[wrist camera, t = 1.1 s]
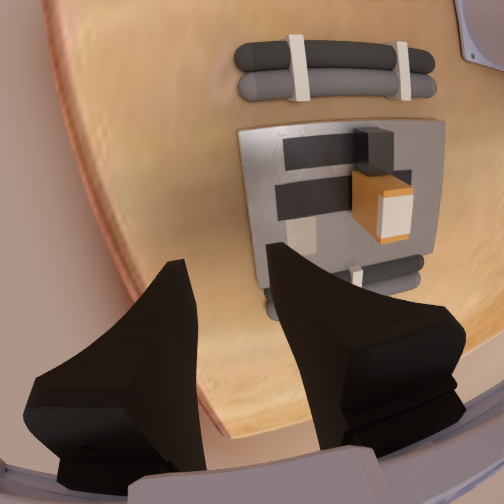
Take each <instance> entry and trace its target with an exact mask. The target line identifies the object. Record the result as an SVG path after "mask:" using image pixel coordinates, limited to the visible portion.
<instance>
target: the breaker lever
mask: <svg viewBox="0 0 504 504" xmlns="http://www.w3.org/2000/svg"><path fill="white" fill-rule="evenodd" d="M413 197H414V194H413V187H412V186H410V185H408V184H406V183H405V182H403V181H401V180H399V179H397V178H396V177H394V176H392V175H390V174H383V175H373V176H368V175H366V174H365V173H363V172H361V171H360V170H357V171H352V218H353V219H355V220H356V221H357V222H358V223H359V224H360V225H361V226H362V227H363V228H364V229H365V230H366V231H367V232H368V233H369V234H370V235H371V236H372V237H373V238H374V239H375V240H376V241H377V242H378V243H379V244H380V245H381V244H386V243H391V242H396V241H401V240H406V239H408V238H409V233H410V228H411V219H412V209H413Z"/></svg>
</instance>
